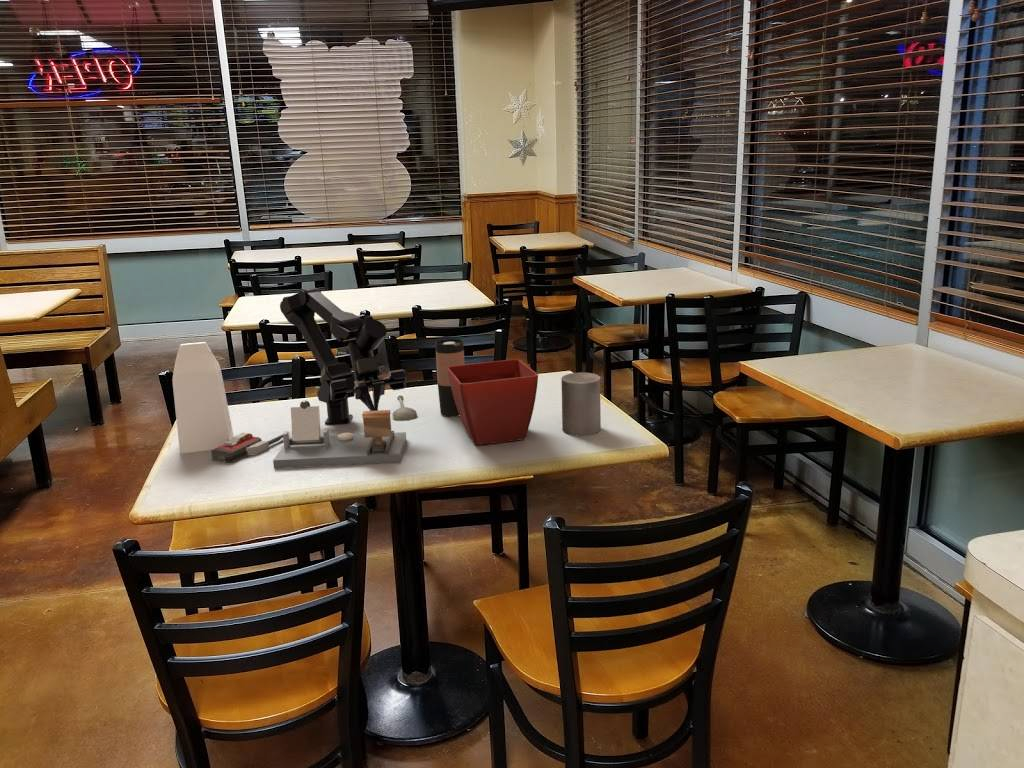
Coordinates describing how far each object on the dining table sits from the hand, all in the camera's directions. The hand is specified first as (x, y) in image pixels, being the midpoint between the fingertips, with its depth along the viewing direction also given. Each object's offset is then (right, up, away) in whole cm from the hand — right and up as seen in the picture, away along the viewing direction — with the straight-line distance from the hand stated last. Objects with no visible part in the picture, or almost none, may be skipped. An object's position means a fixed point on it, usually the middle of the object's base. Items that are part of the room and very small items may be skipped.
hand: (375, 414), depth 203 cm
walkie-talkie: (-31, -9, +3) cm, 33 cm away
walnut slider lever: (+2, -8, -8) cm, 11 cm away
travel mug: (+17, -1, +25) cm, 31 cm away
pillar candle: (+51, -4, +7) cm, 51 cm away
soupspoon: (+3, 0, +31) cm, 31 cm away
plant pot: (+29, -6, +5) cm, 30 cm away
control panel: (-7, -9, -3) cm, 12 cm away
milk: (-44, -8, +9) cm, 46 cm away
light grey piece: (-16, -6, -3) cm, 18 cm away
